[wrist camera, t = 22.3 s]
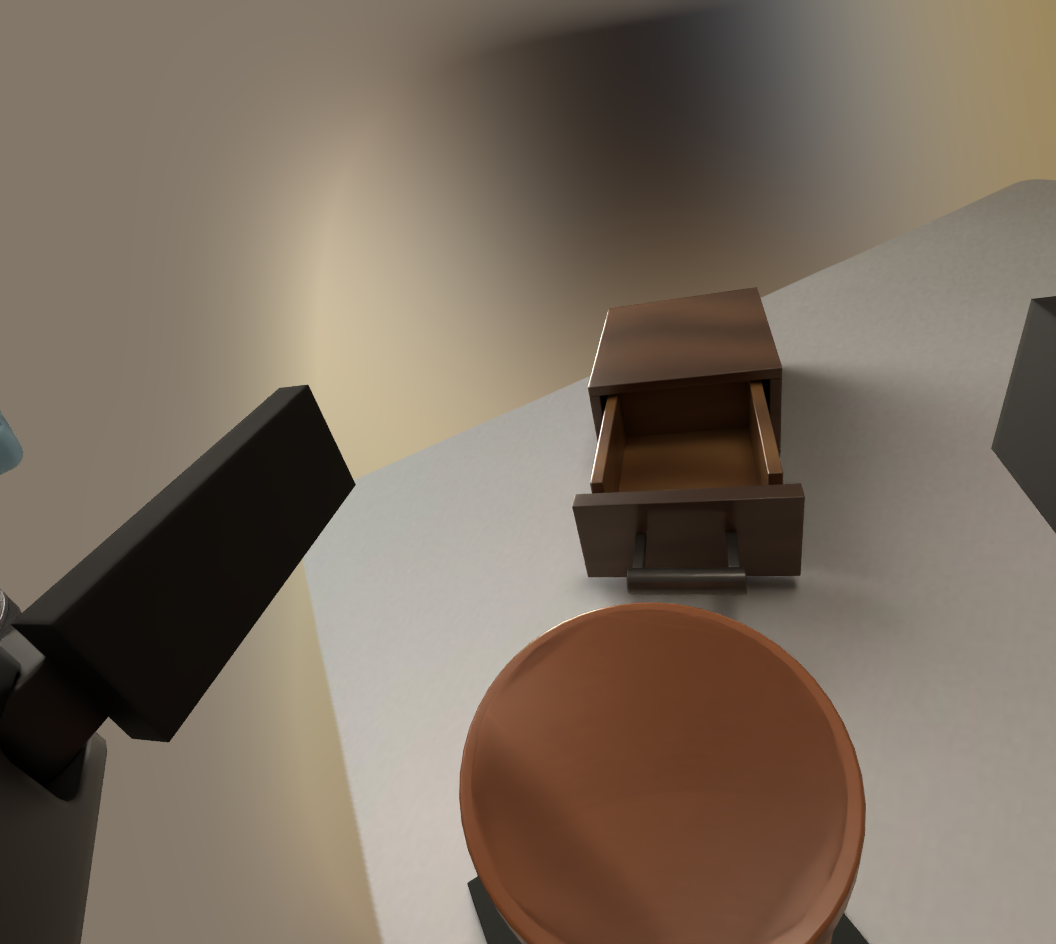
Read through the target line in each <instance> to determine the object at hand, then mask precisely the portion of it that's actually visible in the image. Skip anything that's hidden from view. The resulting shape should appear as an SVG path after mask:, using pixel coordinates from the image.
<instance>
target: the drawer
mask: <svg viewBox="0 0 1056 944" xmlns="http://www.w3.org/2000/svg"><path fill="white" fill-rule="evenodd" d="M590 486H591V491H592V494H576V495H575V498H574V502H573V506H572V508H573V512H574V516H575V521H576V525H577V530H578V534H579V538H580V543H581V547H582V552H583V556H584V561H585V565H586V569H587V574H588V577H627V589H628V593H629V594H702V595H746V594H747V577H746V576H800V575H801V558H802V539H803V521H804V503H805V496H804V492H803V489H802V485H801V484H783V469H782V465H781V461H780V457H779V453H778V448H777V444H776V440H775V436H774V432H773V428H772V424H771V419H770V415H769V411H768V407H767V403H766V399H765V394H764V390H763V386H762V382H761V380H752V381H742V382H732V383H722V384H712V385H701V386H691V387H681V388H671V389H661V390H651V391H641V392H630V393H620V394H610V395H608V397H607V402H606V407H605V412H604V417H603V422H602V427H601V432H600V437H599V442H598V447H597V452H596V457H595V462H594V466H593V471H592V476H591V481H590Z"/></svg>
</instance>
